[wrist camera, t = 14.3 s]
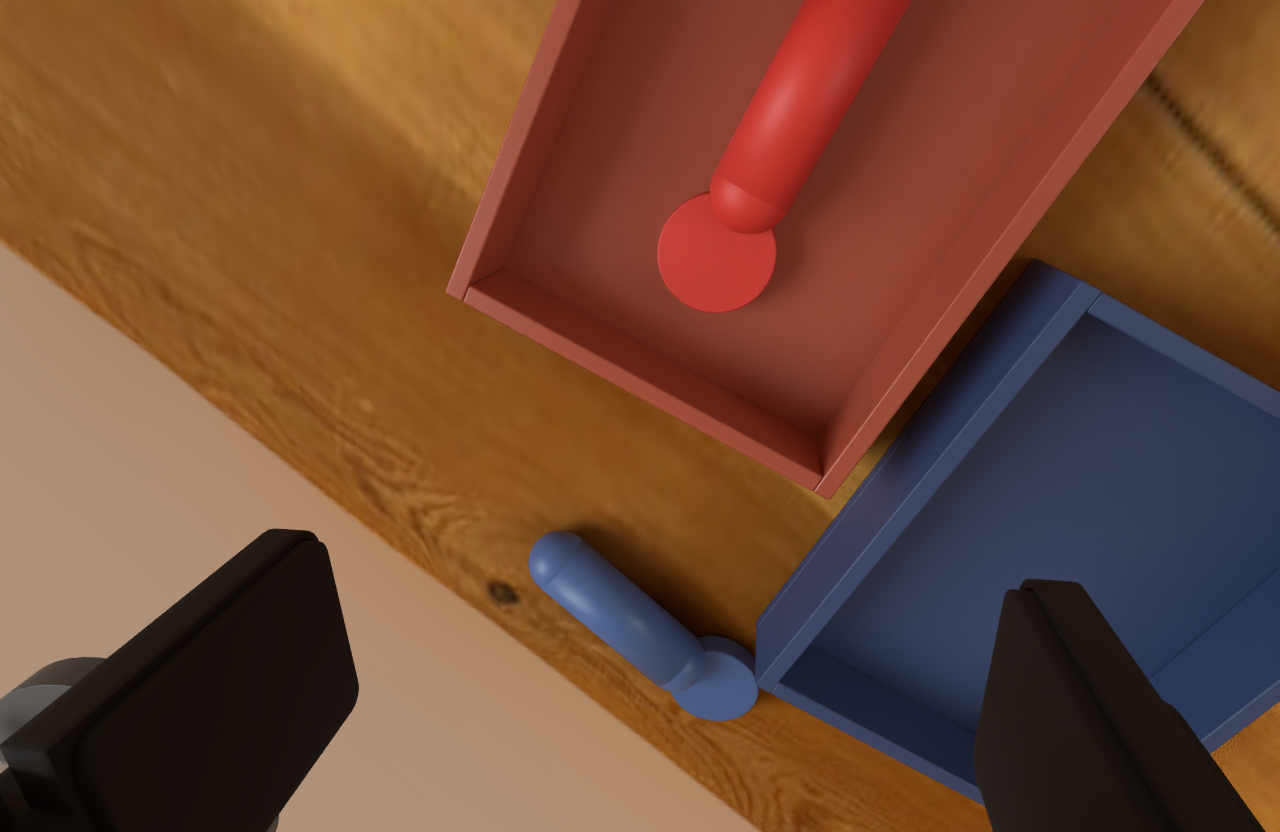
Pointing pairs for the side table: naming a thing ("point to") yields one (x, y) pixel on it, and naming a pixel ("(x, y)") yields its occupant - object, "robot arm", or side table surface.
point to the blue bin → (1046, 531)
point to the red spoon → (773, 154)
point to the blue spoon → (645, 630)
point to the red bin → (819, 217)
